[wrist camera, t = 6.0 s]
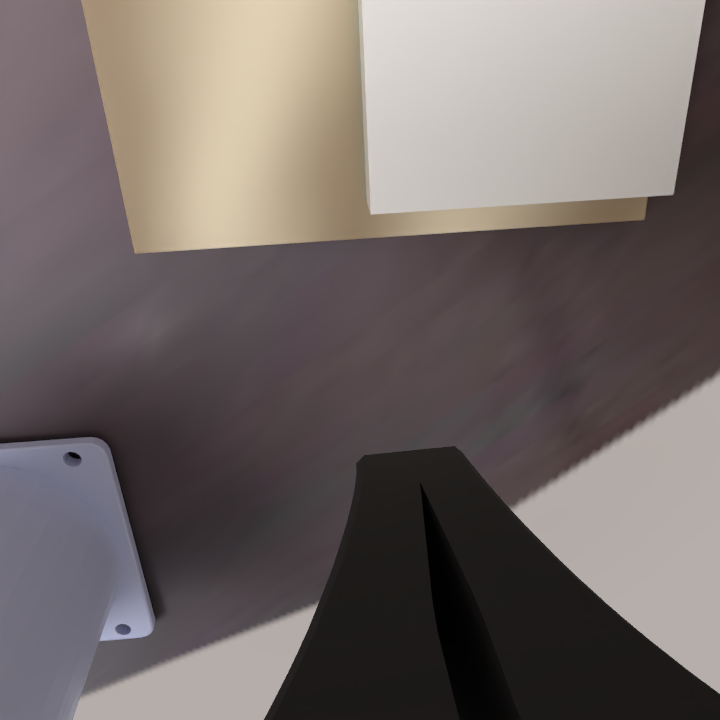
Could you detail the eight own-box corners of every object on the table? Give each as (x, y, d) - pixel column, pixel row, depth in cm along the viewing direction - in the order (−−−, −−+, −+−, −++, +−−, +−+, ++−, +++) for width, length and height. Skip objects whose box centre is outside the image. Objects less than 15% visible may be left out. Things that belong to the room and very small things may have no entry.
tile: (371, 214, 15) (673, 194, 15) (354, -172, 12) (736, -190, 12) (365, 198, 16) (644, 180, 17) (350, -153, 13) (694, -169, 14)
